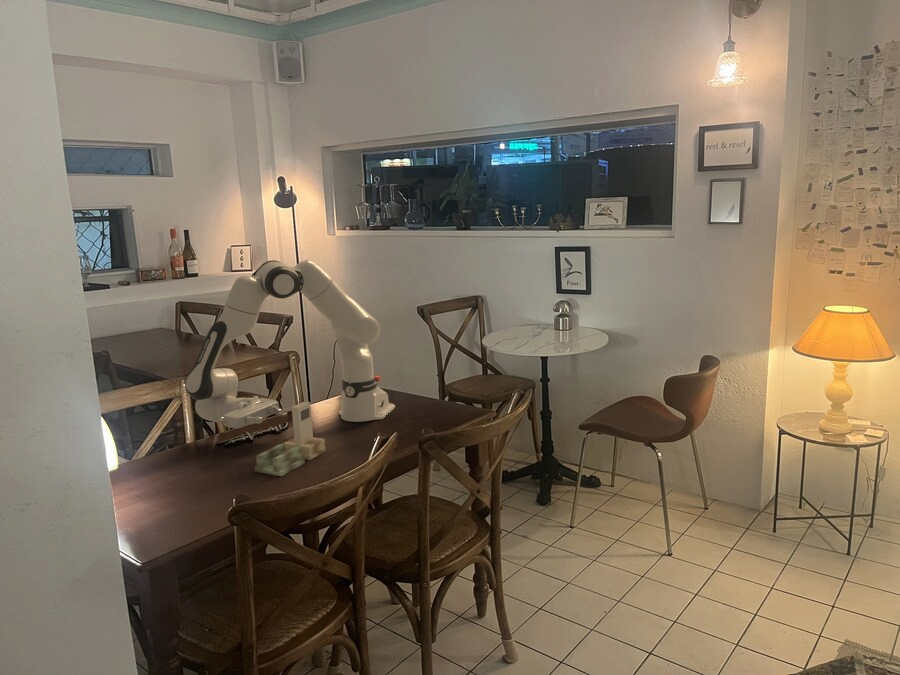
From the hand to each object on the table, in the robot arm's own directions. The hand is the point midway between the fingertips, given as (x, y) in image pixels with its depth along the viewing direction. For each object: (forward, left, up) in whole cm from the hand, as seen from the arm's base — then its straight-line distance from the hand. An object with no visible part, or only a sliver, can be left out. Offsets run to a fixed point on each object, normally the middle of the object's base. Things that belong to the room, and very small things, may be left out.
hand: (271, 416), depth 217 cm
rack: (+12, +12, -11) cm, 20 cm away
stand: (0, +12, -11) cm, 16 cm away
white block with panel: (0, +12, -7) cm, 14 cm away
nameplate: (-7, -14, -11) cm, 19 cm away
